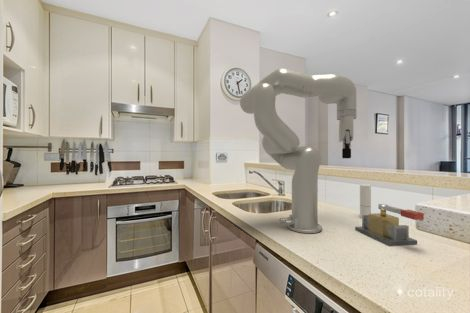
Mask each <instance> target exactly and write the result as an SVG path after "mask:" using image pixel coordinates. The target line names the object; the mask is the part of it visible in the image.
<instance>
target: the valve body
mask: <svg viewBox="0 0 470 313" xmlns="http://www.w3.org/2000/svg"><path fill="white" fill-rule="evenodd" d="M379 210H380V212H378V213H371V214H369V215H362V218H361V223H362V225H361V226H354V230H355V231H356V232H358V233H361V234H362V235H365V236H367V237H369V238H372V239H374V240H375V241H377V242H379V243H381V244H384V245H386V246H388V247H394V246H398V247H399V246H414V245H418V240H417V239H414V238H412V237H409V236H410V229H409V227H410V226H409V225H406V224H402V225H401V224H400V218H399V217H398V216H396V215H391V214H388V213H387V210H381V209H379Z"/></svg>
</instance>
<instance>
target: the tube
mask: <svg viewBox="0 0 470 313" xmlns="http://www.w3.org/2000/svg"><path fill="white" fill-rule="evenodd" d="M371 188H372V184H362V183H361V184H359V218H360V219H362V215H369V214H372V189H371Z"/></svg>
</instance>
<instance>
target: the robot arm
mask: <svg viewBox="0 0 470 313" xmlns="http://www.w3.org/2000/svg"><path fill="white" fill-rule="evenodd" d="M281 94H283V95H289V96H295V97H299V98H304V99H305V98H314V97H318V99H319V101H320V102H321V103H323V104H326V105H327V104H328V105H332V104H336V120H337V121H339V122H338V142H339V143H342V150H341V155H342V157H341V158H342V159H351V158H352V148H351V147H352V144H351V143H352V141H353V140H354V120H356V119H357V87H356V85H355V83H354V82H353V81H352V80H351V78H349V77H345V76H342V75H339V74H306V73H303V72H299V71H296V70H291V69H288V68H283V67H282V68H278V69H275V70H273V71H272V72H270V73H269V74H268V75H266V76H264V77H263V79H261V80H260V81H259V82H258V83H256V84H255V85H254V86H252V87H251V88H250V89H248V90H247V91H246V92H245V93H243V94H242V95H241V98H240V99H239V100H240V101H239V106H240V108H241V110H242V111H243V112H244V113H246V114H249V115H250V114H251V115H252V114H253V118H254V124H255V126H256V129H257V130H258V132H260V134H261V135H262V136H263V137H262V141H261V145H262V148H263V149H264V152H266V154H267V155H269V156H270V157H271V158H272V159H273V160H274V161H275V162H276V163H277V164H278V165H280V166H281V167H282V168H284V169H286V170H290V171H294V173H293V174H292V175H293V176H292V178H291V214H289V215H288V217H280V218H279V223H280V224H285V225H287V228H288V229H289V230H291V231H293V232H297V233H302V234H317V233H320V232H322V231H323V226H322V225H321V224H319V220H318V216H319V215H318V214H319V212H318V211H319V210H318V203H319V202H318V201H319V200H318V196H319V194H318V193H319V191H318V190H319V189H318V186H319V185H318V184H319V183H318V180H319V179H318V178H319V177H318V176H319V169H320V164H321V154H320V153H319V150H318V149H316V148H315V147H313V146H309V145H303V146H301V145H300V139H299V136H298V135H297V133H296V132H295V131H294V130H292V128H291V127H289V126H288V125H287V124H286V122H284V120H282V119H281V117H280V116H279V114H278V113H277V110H276V98H277V97H276V96H278V95H281Z"/></svg>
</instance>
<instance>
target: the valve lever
mask: <svg viewBox="0 0 470 313" xmlns="http://www.w3.org/2000/svg"><path fill="white" fill-rule="evenodd" d="M378 209H379V210H386V212H387V211H388V212H391V213H394V214H398V215H400V217H404V218H407V219H411V220H413V221H419V220H422V221H423V220H424V219H425V217H424V212H420V211H417V212H416V210H413V209H402V208H398V207H394V206H391V205H388V204H384V203H378Z"/></svg>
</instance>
